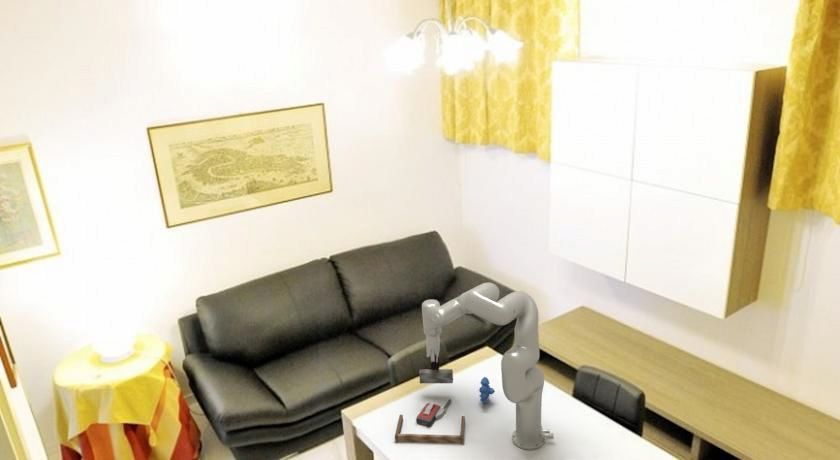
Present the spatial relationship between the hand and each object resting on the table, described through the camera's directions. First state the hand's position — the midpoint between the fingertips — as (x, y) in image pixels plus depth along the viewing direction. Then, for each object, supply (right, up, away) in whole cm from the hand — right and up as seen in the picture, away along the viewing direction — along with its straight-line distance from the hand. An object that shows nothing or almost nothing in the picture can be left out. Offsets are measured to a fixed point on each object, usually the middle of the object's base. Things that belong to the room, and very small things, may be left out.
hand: (435, 367), depth 260 cm
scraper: (0, -7, +2) cm, 7 cm away
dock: (-2, -22, -17) cm, 27 cm away
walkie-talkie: (-1, -18, -6) cm, 19 cm away
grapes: (+22, -15, -1) cm, 26 cm away
